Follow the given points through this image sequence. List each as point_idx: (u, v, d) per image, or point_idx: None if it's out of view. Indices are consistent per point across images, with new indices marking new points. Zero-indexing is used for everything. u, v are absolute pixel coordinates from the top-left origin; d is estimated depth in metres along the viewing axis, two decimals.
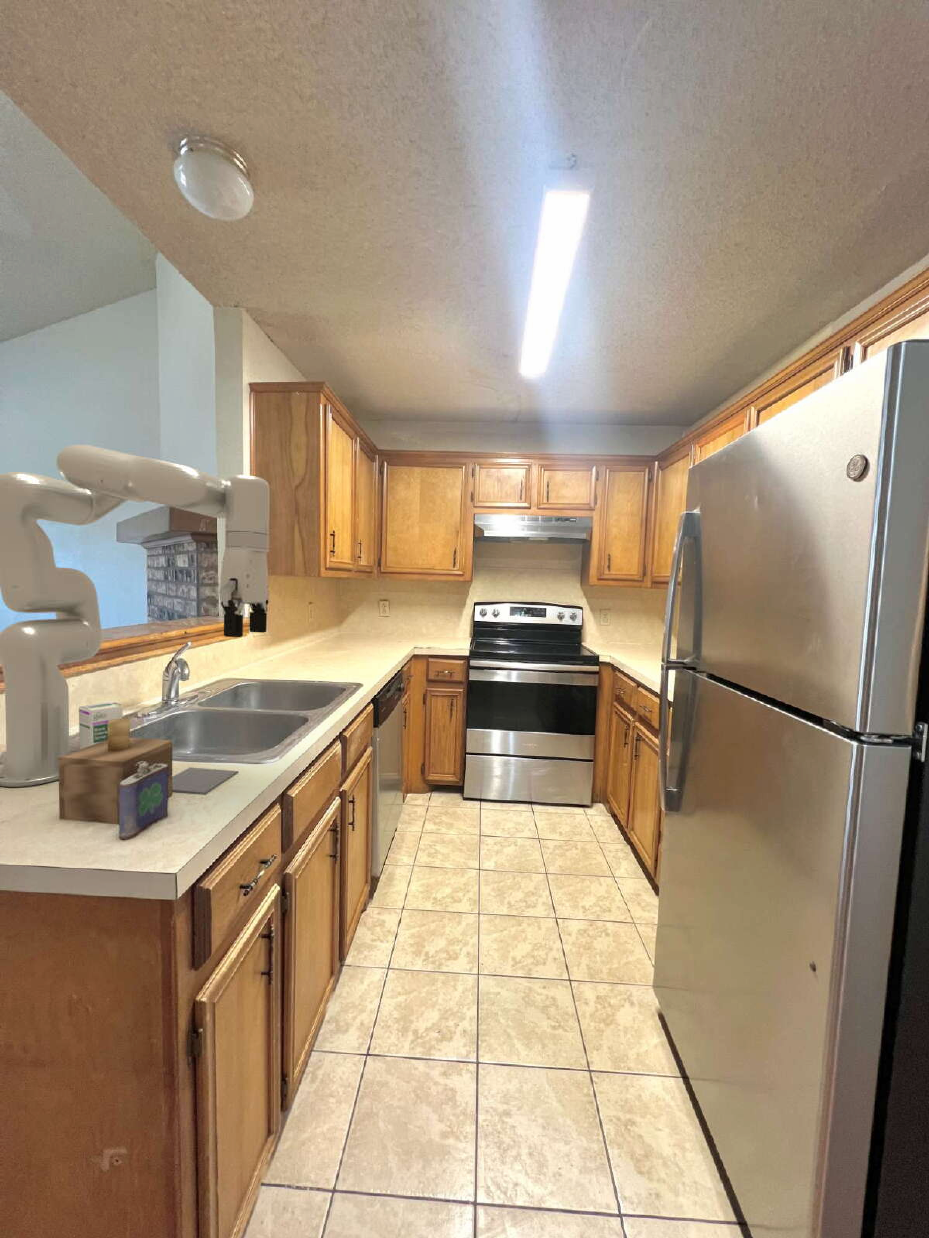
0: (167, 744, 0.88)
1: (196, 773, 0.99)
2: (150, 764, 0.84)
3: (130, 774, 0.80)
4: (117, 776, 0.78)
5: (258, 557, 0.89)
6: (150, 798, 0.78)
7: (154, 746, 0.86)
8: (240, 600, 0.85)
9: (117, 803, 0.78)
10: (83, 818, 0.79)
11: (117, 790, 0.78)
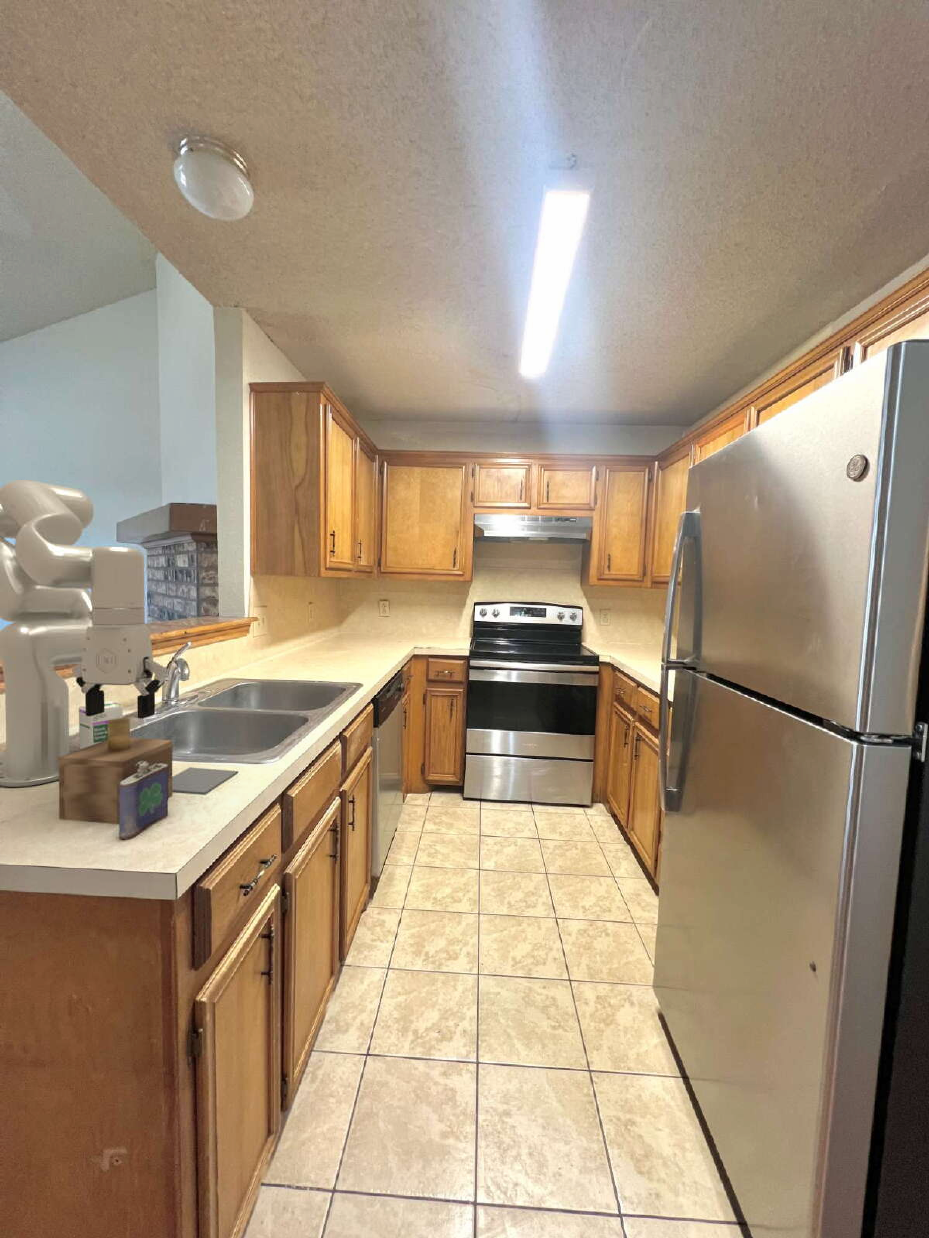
0: (167, 744, 0.88)
1: (196, 773, 0.99)
2: (150, 764, 0.84)
3: (130, 774, 0.80)
4: (117, 776, 0.78)
5: None
6: (150, 798, 0.78)
7: (154, 746, 0.86)
8: (149, 678, 0.84)
9: (117, 803, 0.78)
10: (83, 818, 0.79)
11: (117, 790, 0.78)
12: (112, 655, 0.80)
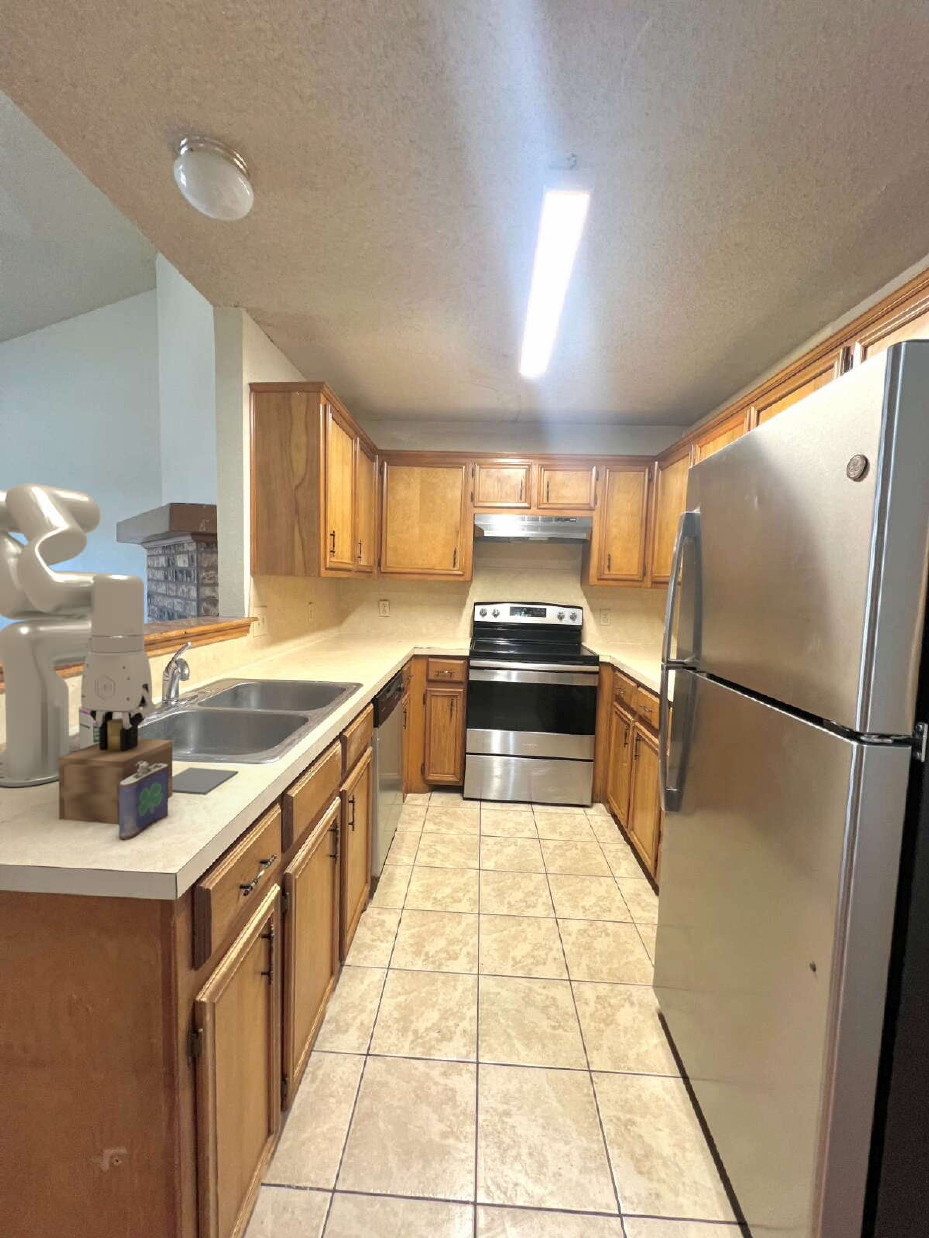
0: (167, 744, 0.88)
1: (196, 773, 0.99)
2: (150, 764, 0.84)
3: (130, 774, 0.80)
4: (117, 776, 0.78)
5: None
6: (150, 798, 0.78)
7: (154, 746, 0.86)
8: None
9: (117, 803, 0.78)
10: (83, 818, 0.79)
11: (117, 790, 0.78)
12: (111, 682, 0.81)
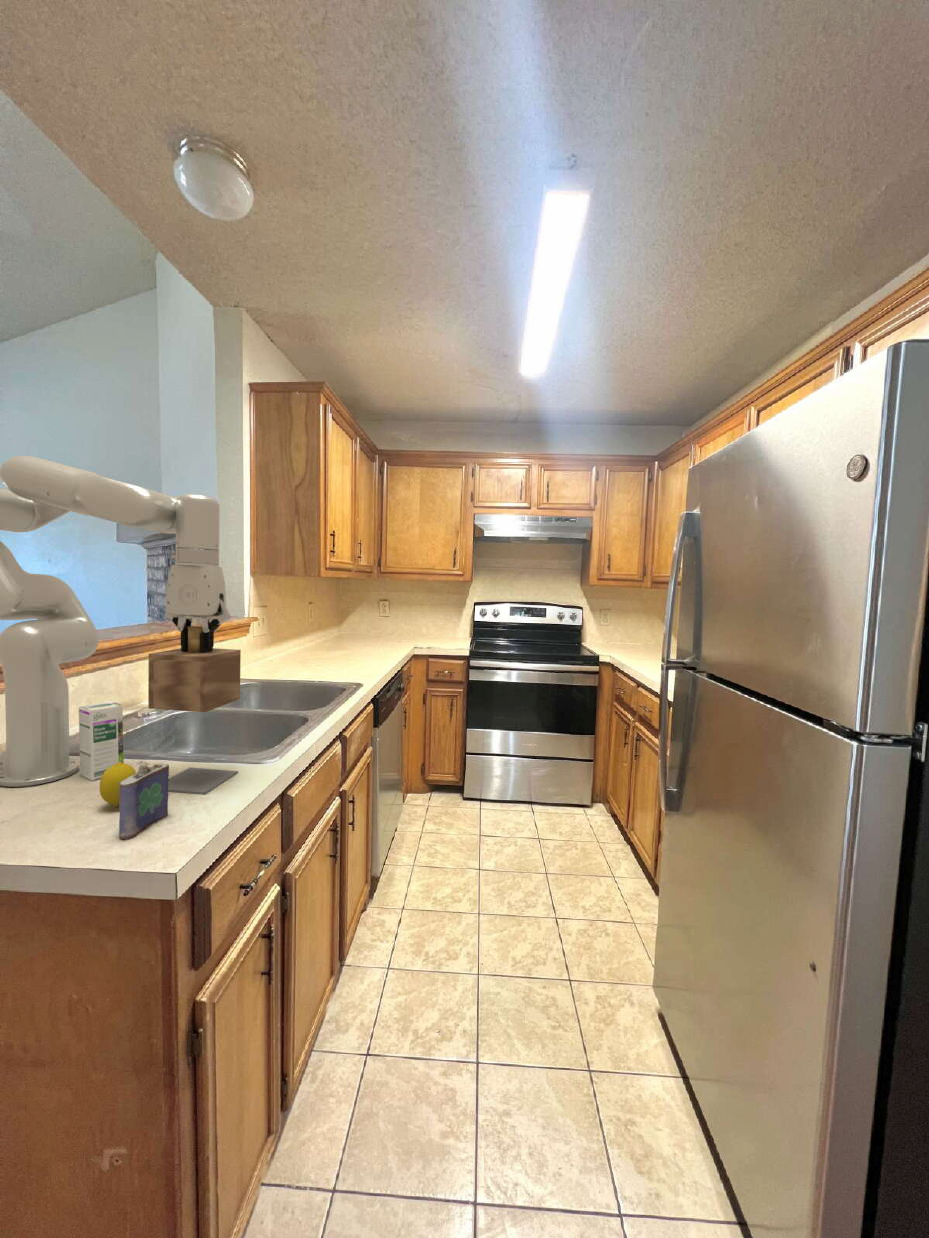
0: (237, 651, 0.99)
1: (196, 773, 0.99)
2: (225, 665, 0.95)
3: (211, 669, 0.90)
4: (200, 669, 0.89)
5: None
6: (150, 798, 0.78)
7: (226, 651, 0.97)
8: None
9: (200, 693, 0.89)
10: (170, 707, 0.90)
11: (200, 682, 0.89)
12: (193, 590, 0.91)
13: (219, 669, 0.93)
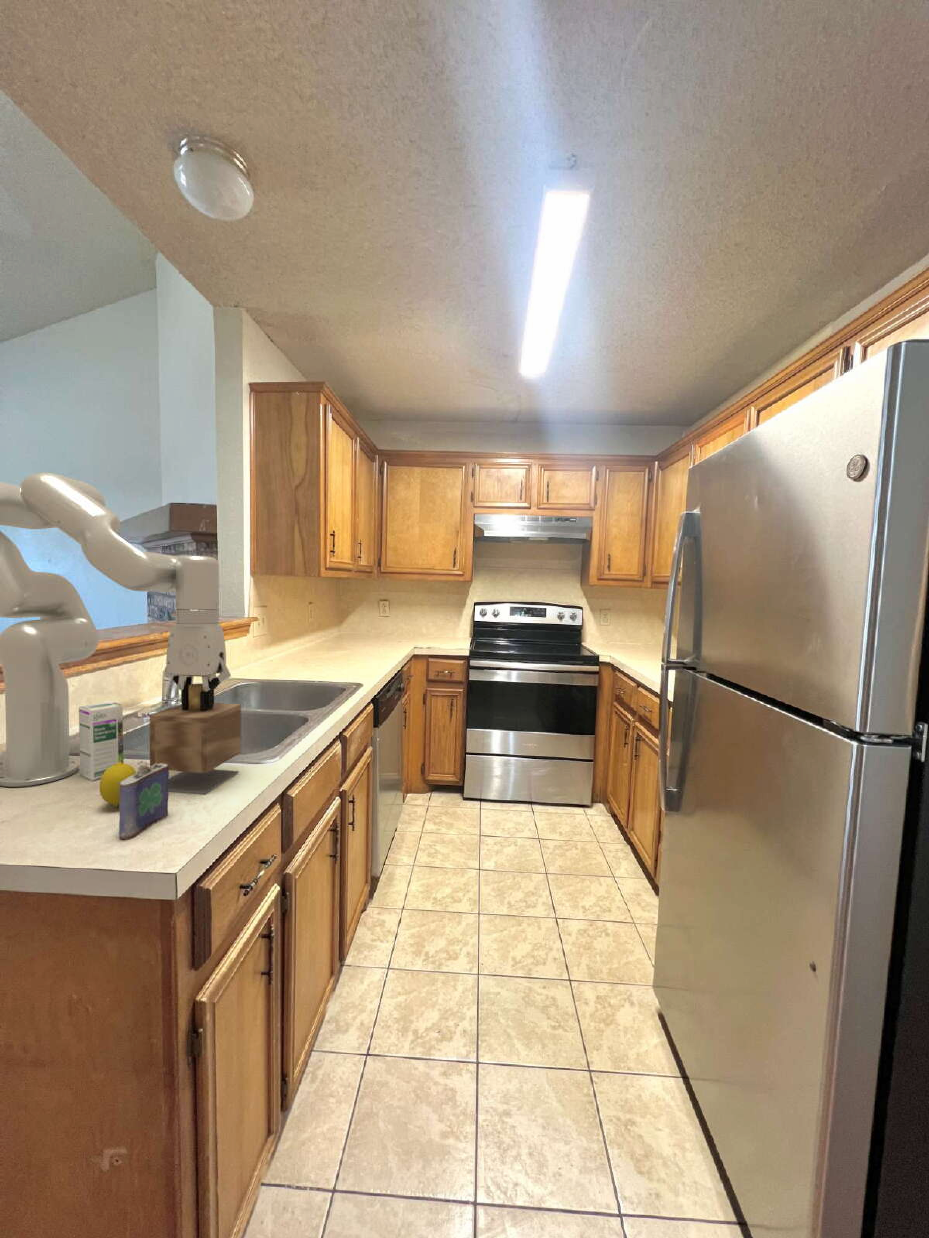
0: (237, 706, 1.00)
1: (196, 773, 0.99)
2: (225, 723, 0.96)
3: (211, 730, 0.91)
4: (201, 731, 0.90)
5: None
6: (150, 798, 0.78)
7: (227, 708, 0.97)
8: None
9: (201, 754, 0.90)
10: (171, 768, 0.91)
11: (201, 743, 0.90)
12: (194, 650, 0.92)
13: (220, 728, 0.94)
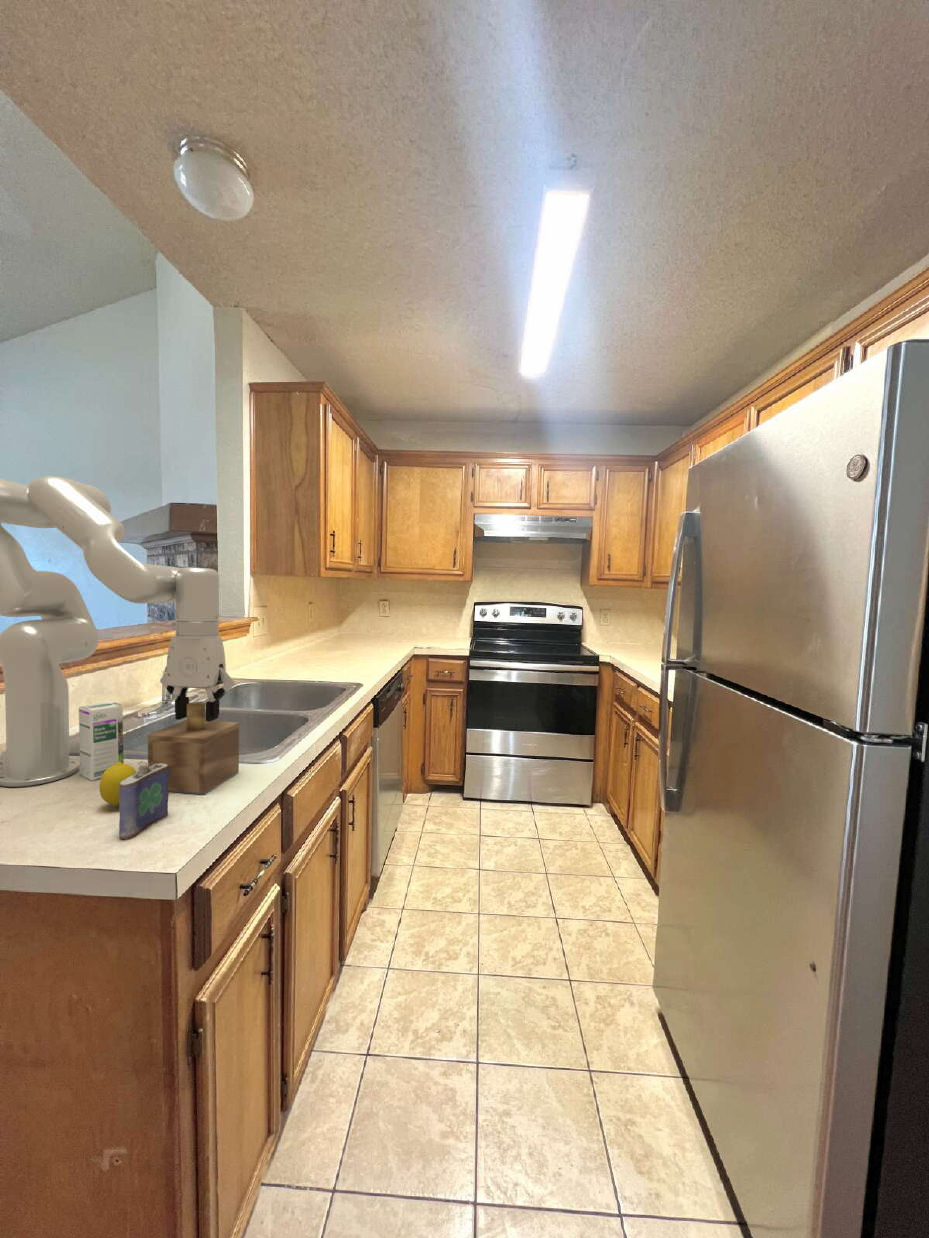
0: (235, 725, 1.00)
1: None
2: (223, 742, 0.96)
3: (209, 750, 0.91)
4: (199, 751, 0.90)
5: None
6: (150, 798, 0.78)
7: (225, 726, 0.98)
8: (222, 682, 0.96)
9: (199, 775, 0.90)
10: (169, 788, 0.91)
11: (199, 763, 0.90)
12: (193, 662, 0.92)
13: (218, 747, 0.94)
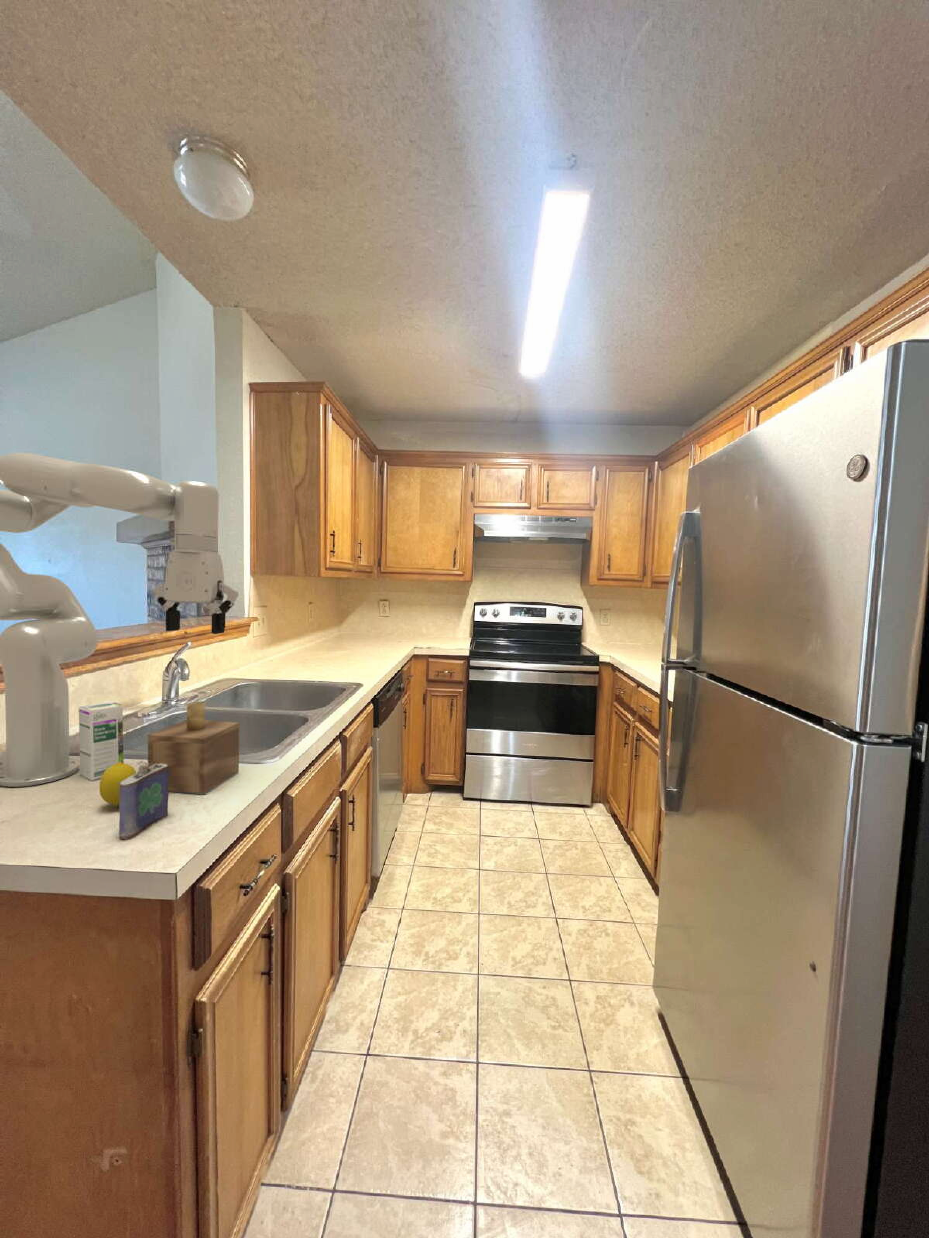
0: (235, 725, 1.00)
1: None
2: (223, 742, 0.96)
3: (209, 750, 0.91)
4: (199, 751, 0.90)
5: None
6: (150, 798, 0.78)
7: (225, 726, 0.98)
8: (221, 600, 0.96)
9: (199, 775, 0.90)
10: (169, 788, 0.91)
11: (199, 763, 0.90)
12: (192, 576, 0.92)
13: (218, 747, 0.94)
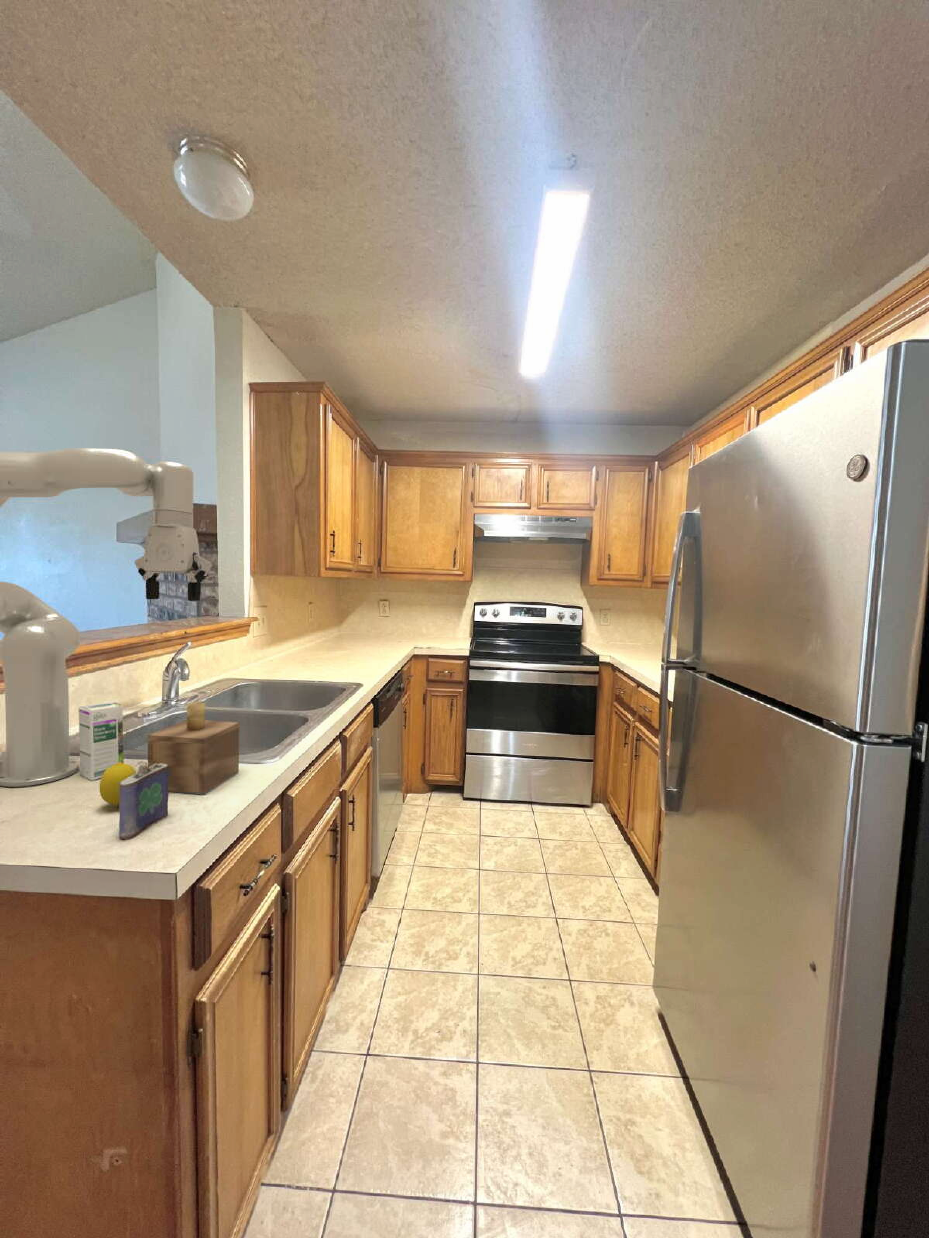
0: (235, 725, 1.00)
1: None
2: (223, 742, 0.96)
3: (209, 750, 0.91)
4: (199, 751, 0.90)
5: None
6: (150, 798, 0.78)
7: (225, 726, 0.98)
8: (196, 570, 1.05)
9: (199, 775, 0.90)
10: (169, 788, 0.91)
11: (199, 763, 0.90)
12: (169, 548, 1.01)
13: (218, 747, 0.94)
